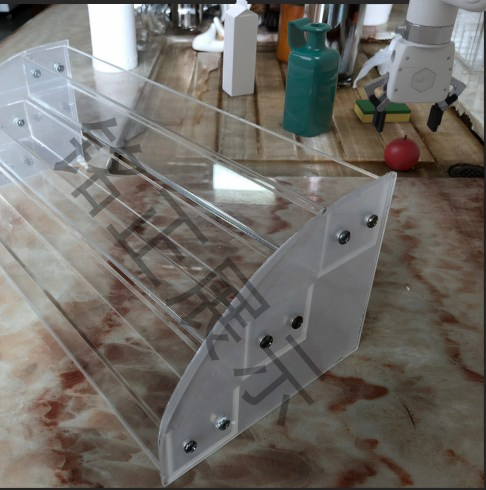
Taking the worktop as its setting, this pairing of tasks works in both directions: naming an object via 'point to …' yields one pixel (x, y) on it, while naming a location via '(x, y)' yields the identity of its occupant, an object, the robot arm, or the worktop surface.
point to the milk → (239, 49)
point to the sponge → (393, 111)
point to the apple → (402, 154)
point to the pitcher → (310, 79)
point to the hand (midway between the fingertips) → (404, 129)
